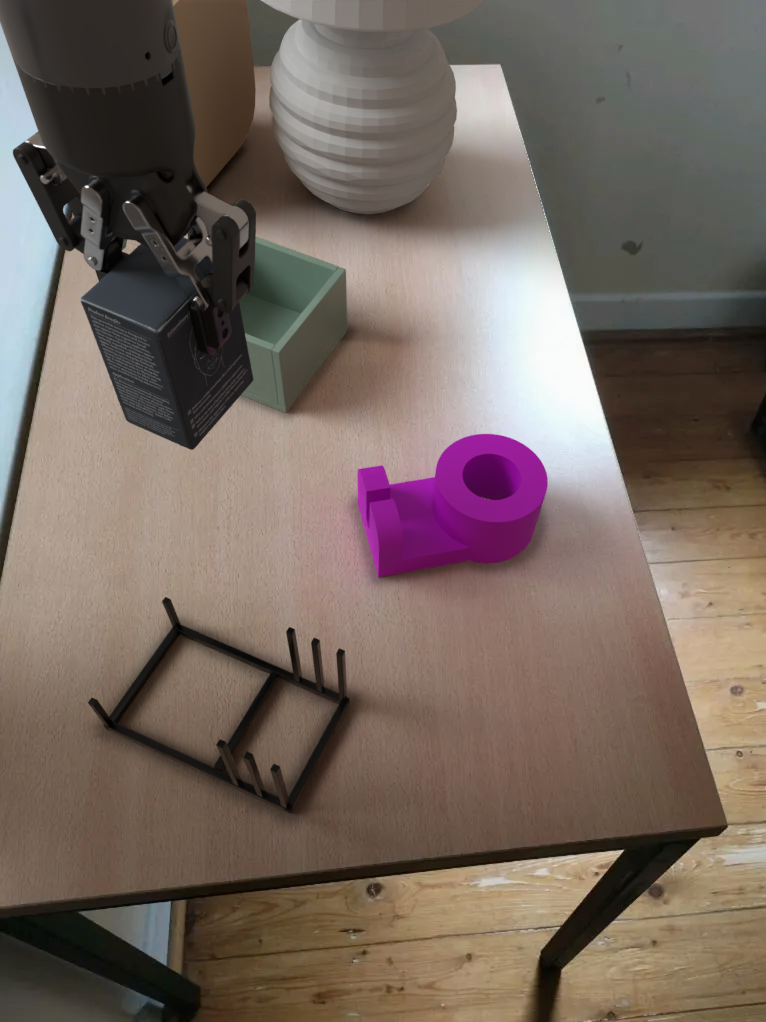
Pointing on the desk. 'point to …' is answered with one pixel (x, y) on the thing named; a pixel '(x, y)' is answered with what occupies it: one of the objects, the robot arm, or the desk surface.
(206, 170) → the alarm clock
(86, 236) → the robot arm
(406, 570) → the magenta mechanical bracket
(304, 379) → the green storage bin
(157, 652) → the rack
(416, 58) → the table lamp
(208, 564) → the desk surface
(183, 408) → the box
